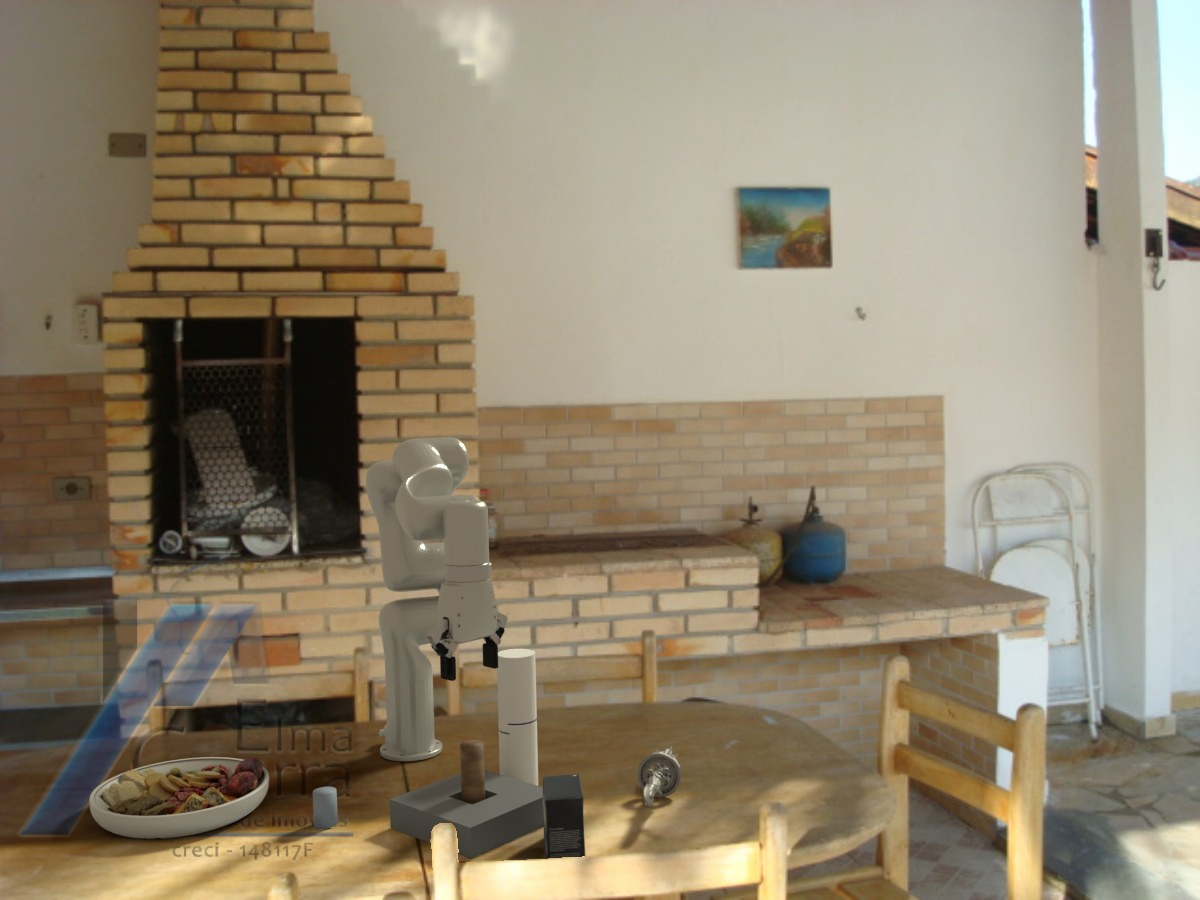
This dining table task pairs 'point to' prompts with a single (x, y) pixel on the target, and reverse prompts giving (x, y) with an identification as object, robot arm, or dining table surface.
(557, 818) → the small box
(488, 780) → the collar block
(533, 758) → the cylindrical container
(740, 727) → the dining table surface
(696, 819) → the dining table surface
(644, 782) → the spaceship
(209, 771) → the bowl
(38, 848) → the dining table surface
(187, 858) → the dining table surface
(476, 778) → the long pin
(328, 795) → the short pin
